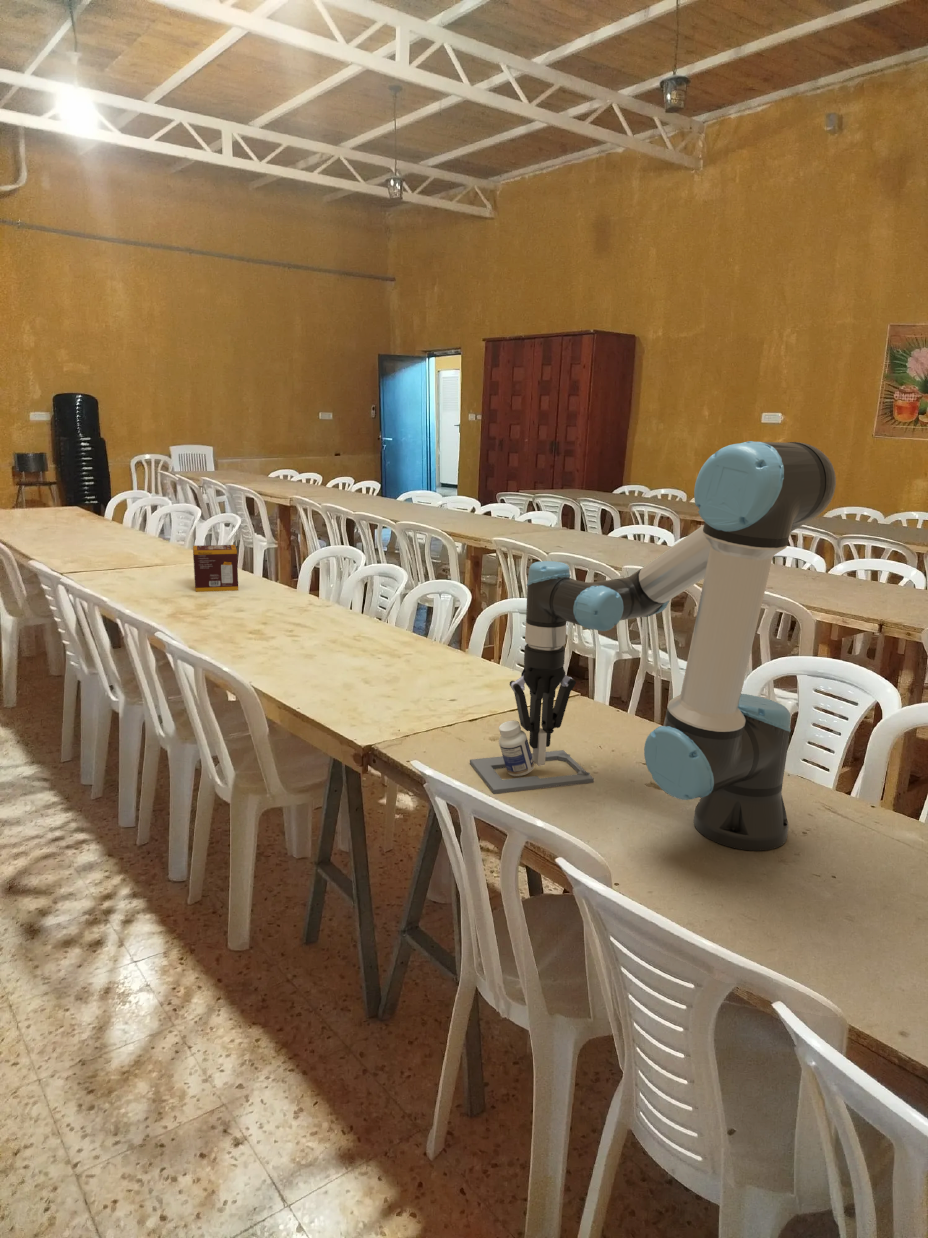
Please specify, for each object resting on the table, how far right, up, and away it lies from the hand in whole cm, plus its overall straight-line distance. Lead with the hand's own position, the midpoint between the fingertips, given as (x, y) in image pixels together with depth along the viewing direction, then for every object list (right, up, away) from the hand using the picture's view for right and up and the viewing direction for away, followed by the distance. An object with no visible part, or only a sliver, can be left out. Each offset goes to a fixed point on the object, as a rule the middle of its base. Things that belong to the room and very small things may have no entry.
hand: (538, 762), depth 163 cm
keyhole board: (-2, -2, 0) cm, 2 cm away
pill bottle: (-3, -1, -1) cm, 4 cm away
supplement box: (-107, +39, +152) cm, 190 cm away
